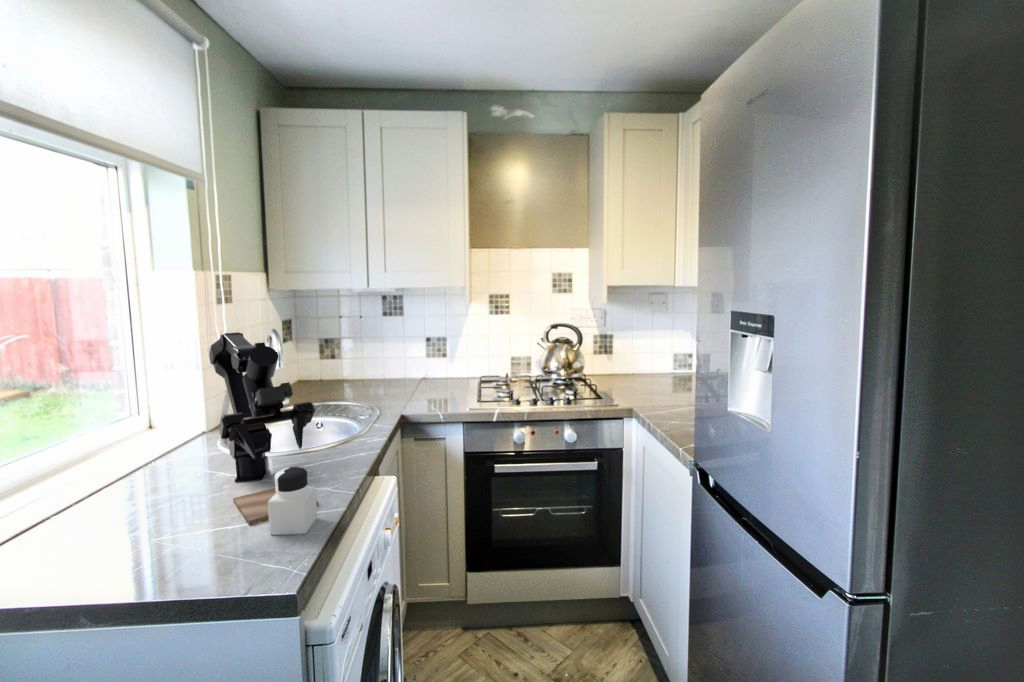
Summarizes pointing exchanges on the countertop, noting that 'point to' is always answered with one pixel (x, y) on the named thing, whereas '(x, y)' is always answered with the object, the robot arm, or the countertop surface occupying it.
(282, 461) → the countertop surface
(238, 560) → the countertop surface
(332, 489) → the countertop surface
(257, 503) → the walnut base
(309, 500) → the medicine bottle
